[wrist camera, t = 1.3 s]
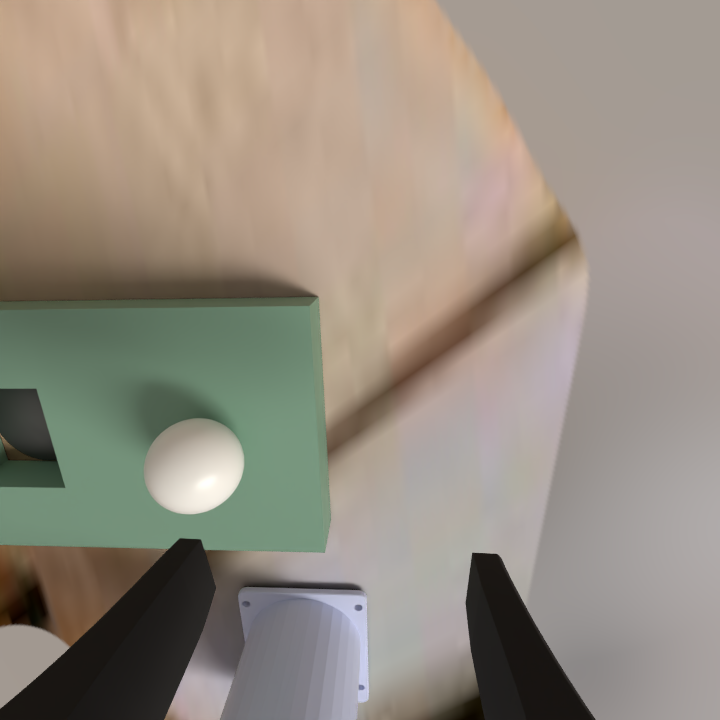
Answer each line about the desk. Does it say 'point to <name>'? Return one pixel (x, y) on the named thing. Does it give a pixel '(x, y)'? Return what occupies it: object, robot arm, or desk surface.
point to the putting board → (161, 419)
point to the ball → (193, 466)
